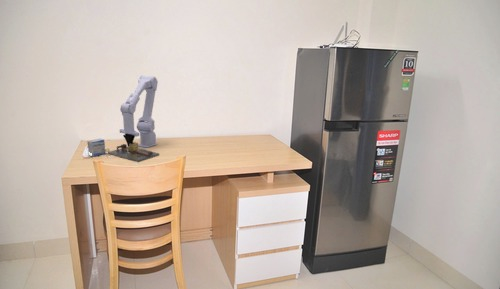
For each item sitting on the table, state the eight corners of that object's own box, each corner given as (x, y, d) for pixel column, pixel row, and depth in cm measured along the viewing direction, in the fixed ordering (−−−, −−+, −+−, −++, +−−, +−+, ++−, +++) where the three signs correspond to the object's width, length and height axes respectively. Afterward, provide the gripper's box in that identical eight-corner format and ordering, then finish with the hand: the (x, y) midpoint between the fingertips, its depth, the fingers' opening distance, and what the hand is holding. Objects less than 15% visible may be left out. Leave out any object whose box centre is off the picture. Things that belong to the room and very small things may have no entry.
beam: (124, 148, 198) (124, 144, 197) (152, 155, 187) (152, 150, 186) (116, 150, 193) (115, 146, 192) (144, 158, 182) (144, 153, 181)
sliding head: (134, 150, 195) (134, 142, 193) (138, 150, 193) (137, 142, 192) (125, 152, 189) (124, 144, 187) (129, 153, 187) (128, 145, 186)
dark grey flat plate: (129, 147, 203) (129, 145, 203) (159, 155, 192) (159, 153, 191) (107, 153, 190) (107, 152, 189) (138, 162, 178) (138, 160, 178)
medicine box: (93, 157, 183) (91, 142, 181) (88, 155, 185) (87, 140, 183) (105, 153, 190) (104, 139, 187) (100, 152, 192) (99, 138, 189)
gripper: (114, 123, 189) (116, 145, 193) (132, 126, 183) (133, 149, 186) (124, 121, 195) (125, 142, 199) (141, 124, 188) (142, 147, 192)
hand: (130, 146), depth 193 cm, fingers closed
